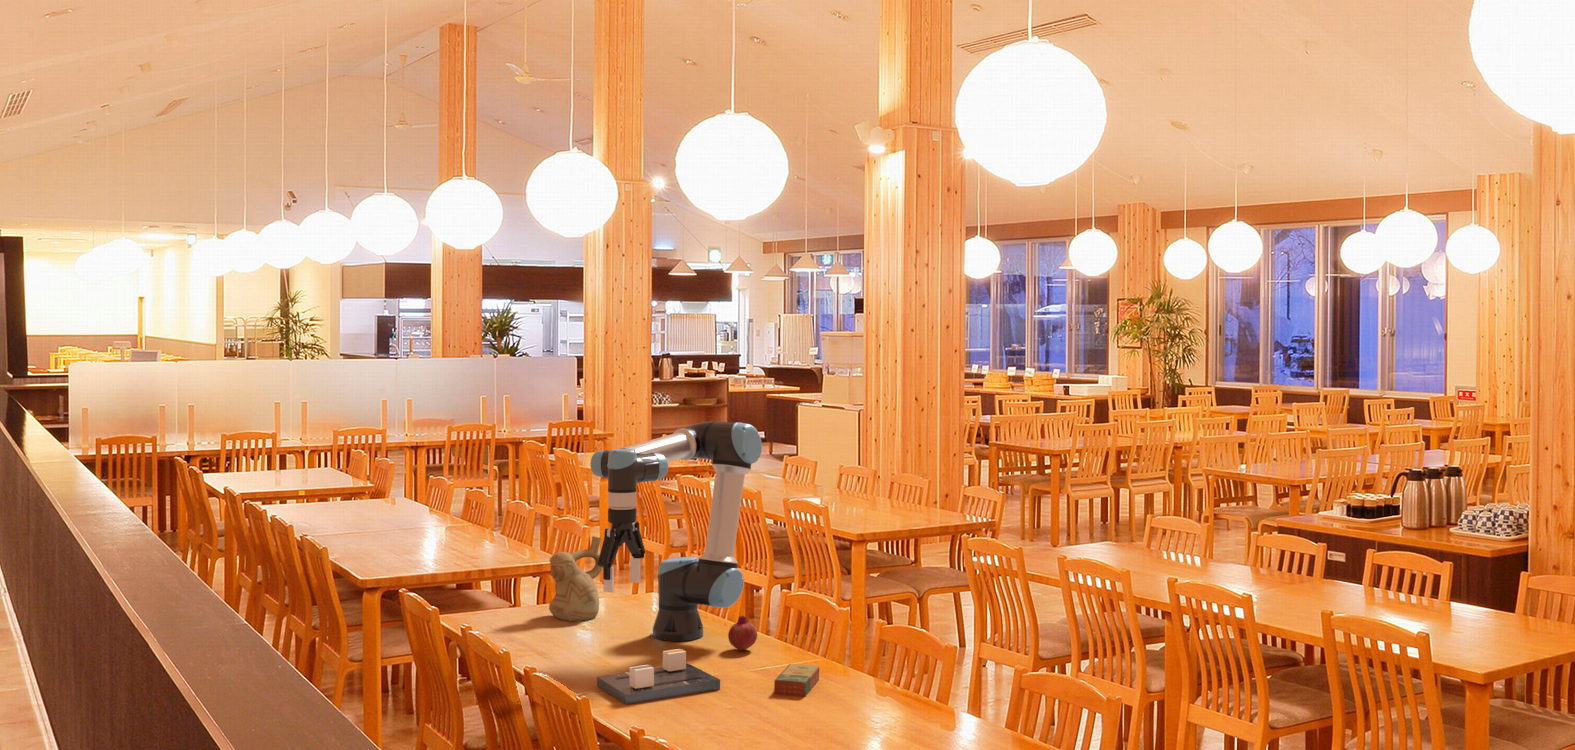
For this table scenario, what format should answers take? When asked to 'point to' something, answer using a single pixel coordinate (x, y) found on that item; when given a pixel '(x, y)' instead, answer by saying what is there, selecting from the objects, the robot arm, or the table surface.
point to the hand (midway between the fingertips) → (622, 587)
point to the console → (659, 685)
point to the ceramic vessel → (575, 584)
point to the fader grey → (641, 676)
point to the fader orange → (674, 660)
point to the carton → (796, 680)
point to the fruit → (742, 634)
